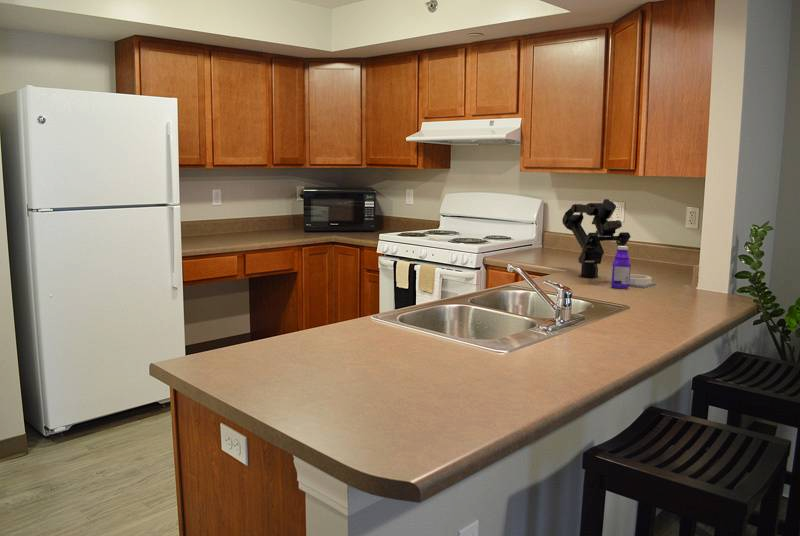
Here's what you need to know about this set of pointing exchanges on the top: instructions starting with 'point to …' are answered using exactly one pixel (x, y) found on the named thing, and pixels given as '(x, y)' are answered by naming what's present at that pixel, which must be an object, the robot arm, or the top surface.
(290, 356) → the top surface
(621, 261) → the bottle
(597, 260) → the robot arm
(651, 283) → the dock
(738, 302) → the top surface
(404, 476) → the top surface
